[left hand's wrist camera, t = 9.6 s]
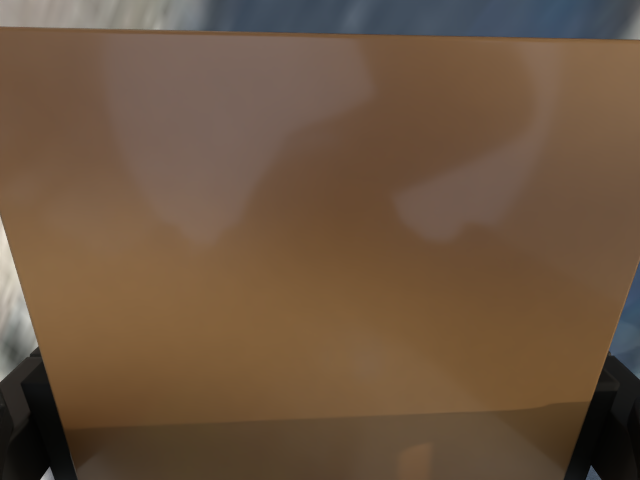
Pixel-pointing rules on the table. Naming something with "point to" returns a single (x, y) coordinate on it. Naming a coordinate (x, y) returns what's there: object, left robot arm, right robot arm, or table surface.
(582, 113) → the brown wooden beam
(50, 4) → the table surface
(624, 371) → the left robot arm
